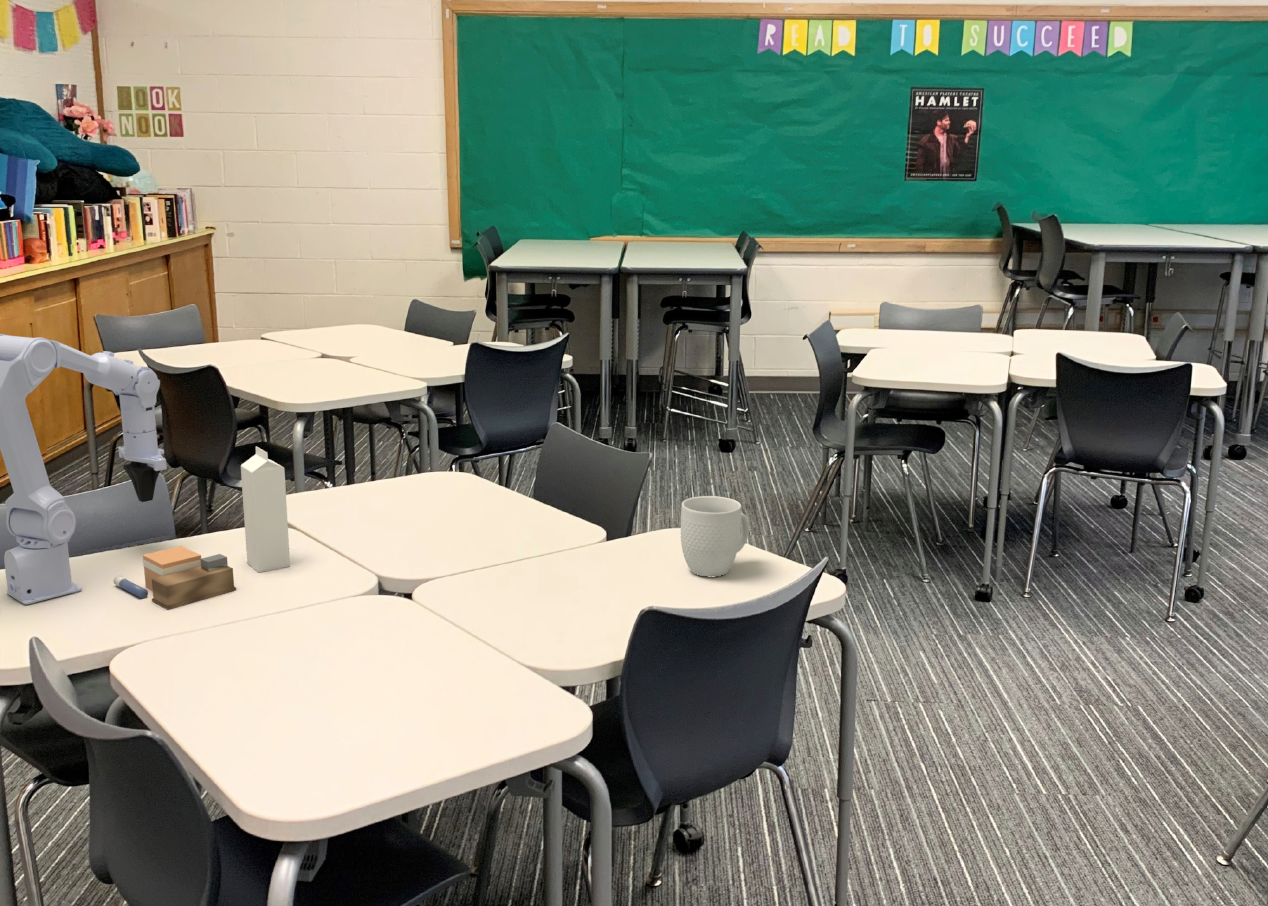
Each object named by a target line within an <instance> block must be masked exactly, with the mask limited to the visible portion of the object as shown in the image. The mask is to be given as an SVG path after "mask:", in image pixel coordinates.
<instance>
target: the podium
mask: <svg viewBox="0 0 1268 906" xmlns="http://www.w3.org/2000/svg"><path fill="white" fill-rule="evenodd" d="M152 588H153V591H152V597H153V598H151V602H152V603H155V604H156V605H158V606H160V607H162V608H164V609H165V610H168V611H169V610H172V609H175V608H179V607H182V606H186V605H190V604H192V603H196V602H199V601H203V600H206V599H210V598H213V597H216V596H220V595H223V594H228V593H231V592H234V591H236V590H237V587H236V586H235V579H234V569H233V567H230V566H229V565H228V567H226V568H222V569H218V570H214V571H211V572H207V571H205V570H203V569H201V566H199V567H195V568H191V569H188V570H184V571H180V572H176V573H172V574H169V575H165V576H161V577H157V578H154V579H152Z"/></svg>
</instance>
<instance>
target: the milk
mask: <svg viewBox="0 0 1268 906" xmlns="http://www.w3.org/2000/svg"><path fill="white" fill-rule="evenodd" d="M268 457H269V455H268V451H265V450H264V449H261V448H260V447H258V446H255V454H254V455H252V456H251V457H249V459H247V460H245V462H243V463H241V465H240V473H241V475H240V476H241V489H242V490H241V491H242V502H243V503H242V506H243V517H244V518H243V520H244V533H245V534H244V537H245V550H246V561H247V562H246V563H247V564H248V565H249V567H251V568H252V569H254V570H255V571H256V572H257V573H263V572H268V571H269V572H270V571H272V570H279V569H283V568H289V567H291V561H290V560H291V559H290V543H289V540H290V538H289V524H288V523H289V522H288V508H287V507H288V506H287V490H286V489H287V487H286V475H285V467H284V466H282V465H281V464H280V463H279V464H278V463H277V462H275V461H274V460H272V459H269V458H268Z"/></svg>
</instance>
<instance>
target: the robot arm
mask: <svg viewBox="0 0 1268 906" xmlns="http://www.w3.org/2000/svg"><path fill="white" fill-rule="evenodd" d="M60 367H62V368H64V369H67V370H72V371H75V372H78V373H82V374H83V376H84V377H85V380H86V381H87V382H88V383H90V384H91V385H95V386H98V387H102V388H104V389H107V390H111V391H112V392H113V394H115V396H119V404H120V406H119V407H120V416H121V426H122V438H123V446H118V448H117V450H118V457H119V458H121V459H124V460H125V461H130V462H129V463H128V464H127V463H126V464H123V467H122V468H123V469H124V471H125V472H126V474H127V476H128V477H129V479H130V480H131V483H132V485H133V488H134V491H135V493H136V496H137V499H138V501H139V502H140V503H144V502H150V501H154V496H155V495H154V494H155V490H156V484H157V481H158V478H159V475H160V473H161V471H165V470H167V459H166V458H164V457H163V455H164V454H165V450H164V449H162V448H159V447H158V446H159V445H158V437H157V436H158V435H157V424H156V423H157V422H156V414H155V406H156V403H157V394H158V392H159V390H160V386H161V380H160V379H158V375H157V374H156V373H155V371H154V370H153V369H152V368H150V367H148V366H139V365H138V366H137V365H135V364H134V361H132V360H130V359H123V360H122V359H120V358H117V357H115V353H114V352H112V351H106V350H103V351H102V352H95V353H93V354H92V355H89V354H87V353H85V352H83V351H81V350H78V349H77V348H73V347H72V346H69V345H66V344H64V343H62V342H59V341H57V340H53V339H52V340H51V339H47V338H46V337H45V338H44V337H28V336H16V335H10V334H9V335H8V334H3V333H0V453H1V455H2V459H3V462H4V466H5V469H6V472H7V475H8V478H9V481H10V484H11V488H12V492H13V493H12V494H11V495H10V496H9V497H8V498H7V499H6V500H5V502H4V504H5V507H6V519H5V520H6V521H5V524H6V528H7V531H8V532H9V533H10V534H11V535H12V536H14V537H15V540H16V543H18V545H17V546H16V547H12V548H11V549H8V550H6V551H5V552H4V557H3V559H4V561H3V562H4V571H5V578H6V586H7V590H5V591H6V594H7V595H9V596H11V597H12V598H13V599H15V600H16V601H18V602H19V603H22V604H23V605H31V604H34V603H38V602H43V601H45V600H49V599H53V598H58V597H61V596H65V595H68V594H72V593H77V592H81V591H82V590H83V587H82V586H80V585H78V584H77V583H74V582H73V581H72V574H71V573H72V572H71V571H72V570H71V564H70V563H71V562H70V555H69V554H70V553H69V545H68V542H70V541H71V538H72V536H73V535H74V533H75V530H76V525H77V519H76V516H75V513H74V512H73V510H72V509H71V508H70V507H69V506H68V504H67V501H66V498H65V497H64V495H62V494H61V493H60V492H59V491H57V489H55V488H54V487H53V486H52V485H51V483H50V480H49V477H48V476H49V475H48V473H47V470H46V466H45V463H44V459H43V456H42V453H41V450H40V446H39V444H38V440H37V437H36V433H35V430H34V426H33V423H32V420H31V416H30V413H29V409H28V407H27V403H26V398H27V396H28V395H29V394H31V393H32V392H33V391H34V390H35V389H36V388H37V387H38V386H39V385H40V384H41V383H42V382H43V381H44V380H45V379H46V377H48V376H49V375H50V373H52V372H53V370H54V369H59V368H60Z"/></svg>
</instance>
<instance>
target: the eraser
mask: <svg viewBox="0 0 1268 906" xmlns="http://www.w3.org/2000/svg"><path fill="white" fill-rule="evenodd" d="M228 566H229V565H228V556H226V555H224V554H221V553H218V554H214V555H210V556H207V557H201V569H203V570H205V571H207V572H211V571H214V570H218V569H222V568H226V567H228Z"/></svg>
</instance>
